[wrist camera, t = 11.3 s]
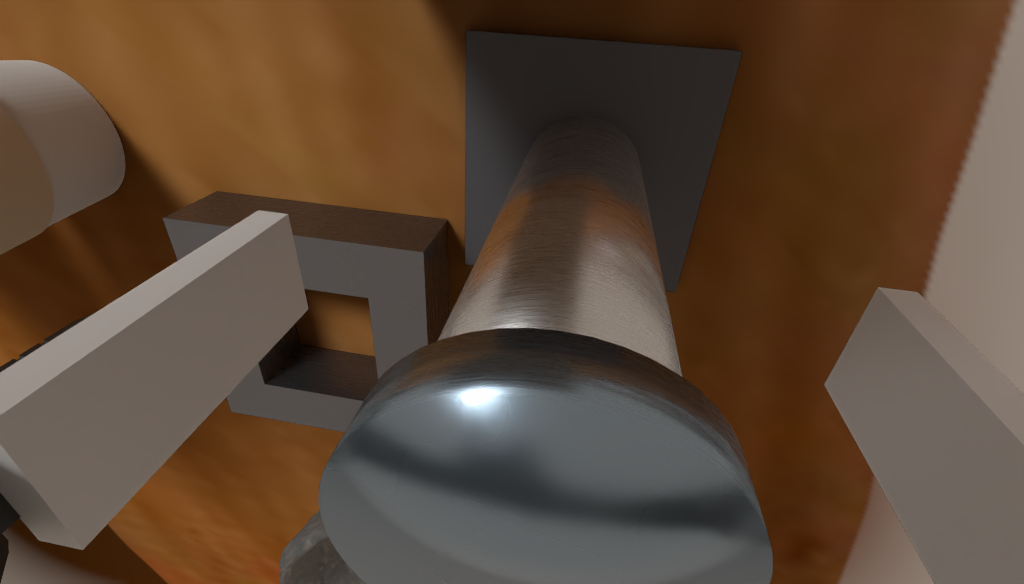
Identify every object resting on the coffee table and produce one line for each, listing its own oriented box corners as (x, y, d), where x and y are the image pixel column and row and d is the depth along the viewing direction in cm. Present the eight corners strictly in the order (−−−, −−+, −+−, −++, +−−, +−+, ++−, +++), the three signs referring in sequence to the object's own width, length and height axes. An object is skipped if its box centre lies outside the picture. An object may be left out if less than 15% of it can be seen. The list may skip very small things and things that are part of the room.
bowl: (526, 603, 40) (510, 725, 33) (326, 534, 40) (269, 643, 33) (615, 480, 30) (617, 617, 24) (351, 386, 30) (276, 498, 23)
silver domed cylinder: (514, 92, 19) (276, 356, 5) (670, 106, 18) (866, 451, 5) (506, 231, 22) (348, 618, 8) (639, 248, 21) (698, 694, 8)
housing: (216, 191, 24) (162, 217, 21) (447, 219, 23) (423, 252, 20) (267, 371, 30) (231, 411, 27) (450, 402, 29) (432, 448, 26)
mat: (469, 29, 18) (466, 30, 18) (739, 50, 17) (742, 51, 17) (467, 259, 24) (465, 264, 23) (674, 286, 23) (675, 292, 22)
